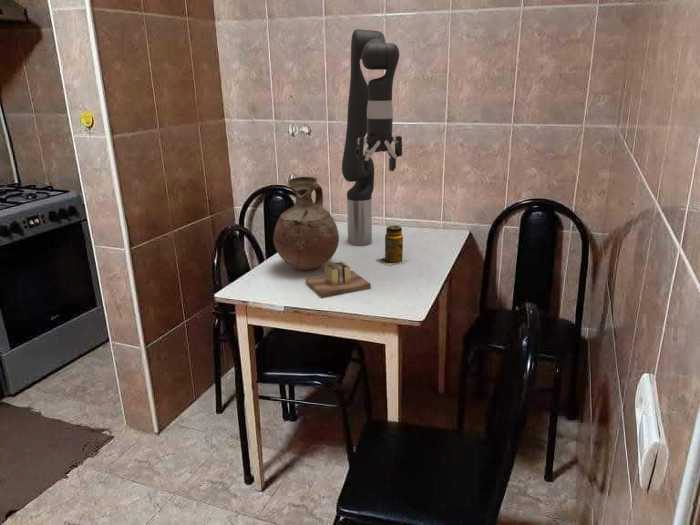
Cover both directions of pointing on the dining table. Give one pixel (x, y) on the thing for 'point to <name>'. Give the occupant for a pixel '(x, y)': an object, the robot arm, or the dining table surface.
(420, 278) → the dining table surface
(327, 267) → the collar
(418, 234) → the dining table surface
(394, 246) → the condiment
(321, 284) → the keyed stand
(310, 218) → the jug
